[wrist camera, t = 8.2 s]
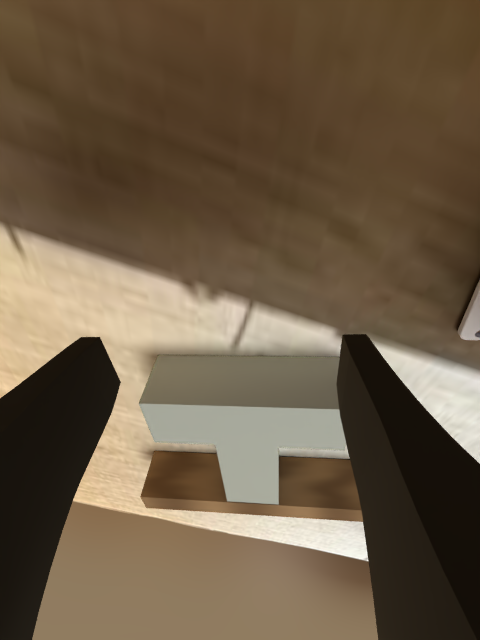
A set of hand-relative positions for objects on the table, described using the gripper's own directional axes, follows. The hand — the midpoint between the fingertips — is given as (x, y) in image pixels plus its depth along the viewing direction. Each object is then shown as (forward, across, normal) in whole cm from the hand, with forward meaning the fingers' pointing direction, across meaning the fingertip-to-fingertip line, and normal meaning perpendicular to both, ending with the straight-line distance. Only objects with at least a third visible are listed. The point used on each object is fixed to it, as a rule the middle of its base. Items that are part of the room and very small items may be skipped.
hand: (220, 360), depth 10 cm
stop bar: (+8, +1, +21) cm, 23 cm away
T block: (+8, 0, +14) cm, 16 cm away
